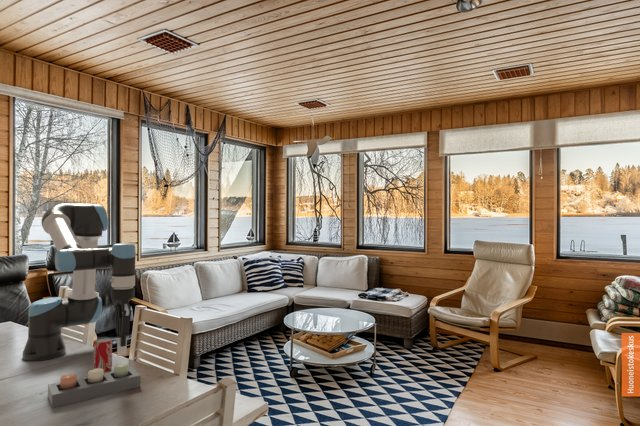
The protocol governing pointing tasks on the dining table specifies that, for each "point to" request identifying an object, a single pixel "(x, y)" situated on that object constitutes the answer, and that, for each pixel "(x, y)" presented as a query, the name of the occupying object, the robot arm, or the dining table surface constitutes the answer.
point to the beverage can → (103, 354)
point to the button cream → (95, 375)
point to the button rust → (68, 381)
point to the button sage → (121, 370)
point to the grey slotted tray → (92, 388)
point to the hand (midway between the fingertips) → (121, 354)
